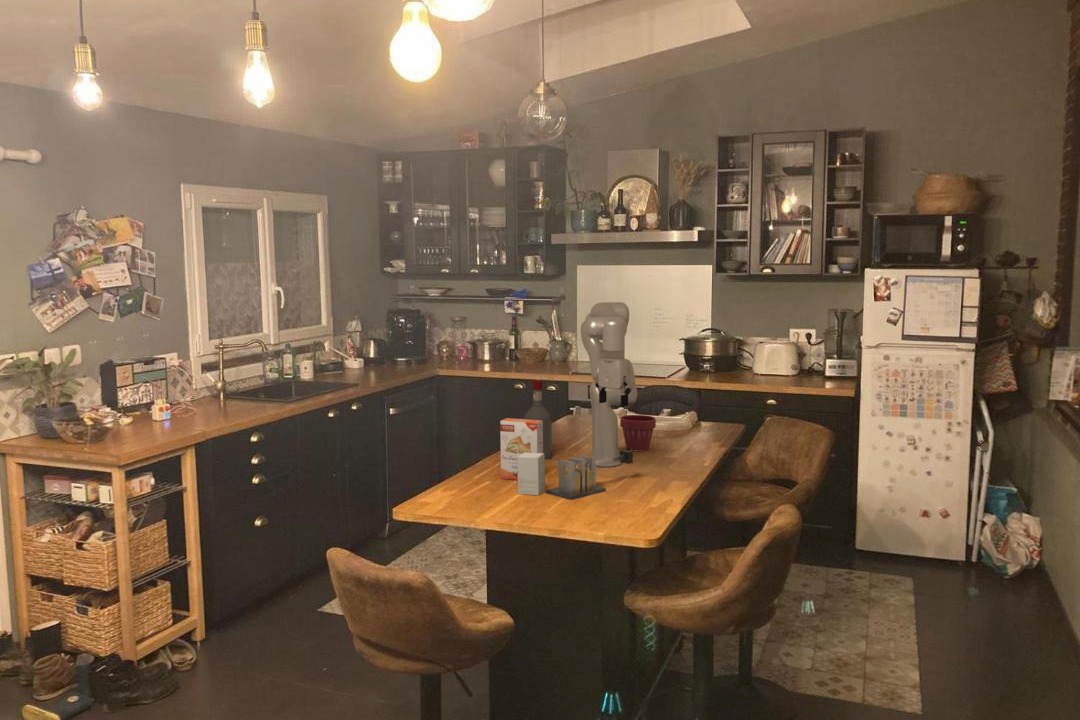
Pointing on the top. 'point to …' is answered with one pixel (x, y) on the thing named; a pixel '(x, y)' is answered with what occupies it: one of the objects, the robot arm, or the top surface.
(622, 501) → the top surface
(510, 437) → the cracker box
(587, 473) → the spacer
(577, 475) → the spacer
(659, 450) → the top surface
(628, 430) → the plant pot
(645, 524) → the top surface
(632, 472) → the top surface
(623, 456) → the shaft
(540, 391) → the liquor
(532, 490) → the supplement box
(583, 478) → the frame
